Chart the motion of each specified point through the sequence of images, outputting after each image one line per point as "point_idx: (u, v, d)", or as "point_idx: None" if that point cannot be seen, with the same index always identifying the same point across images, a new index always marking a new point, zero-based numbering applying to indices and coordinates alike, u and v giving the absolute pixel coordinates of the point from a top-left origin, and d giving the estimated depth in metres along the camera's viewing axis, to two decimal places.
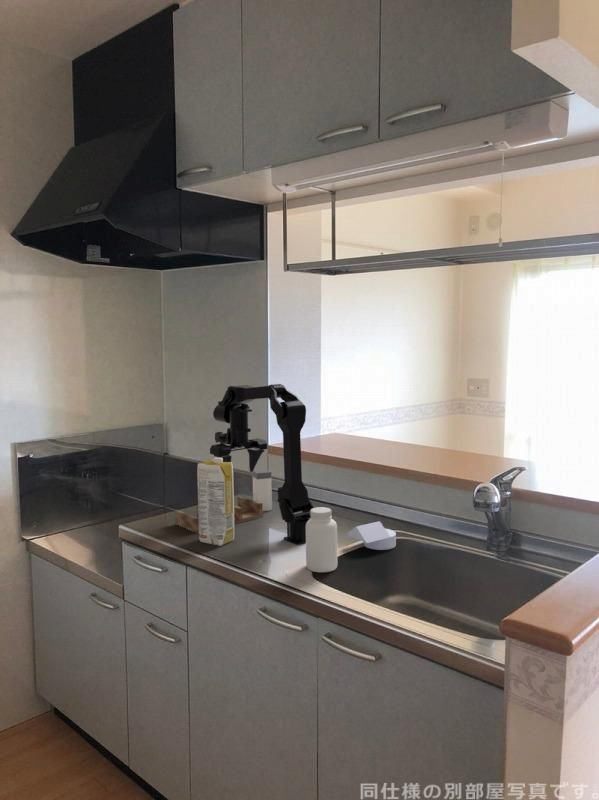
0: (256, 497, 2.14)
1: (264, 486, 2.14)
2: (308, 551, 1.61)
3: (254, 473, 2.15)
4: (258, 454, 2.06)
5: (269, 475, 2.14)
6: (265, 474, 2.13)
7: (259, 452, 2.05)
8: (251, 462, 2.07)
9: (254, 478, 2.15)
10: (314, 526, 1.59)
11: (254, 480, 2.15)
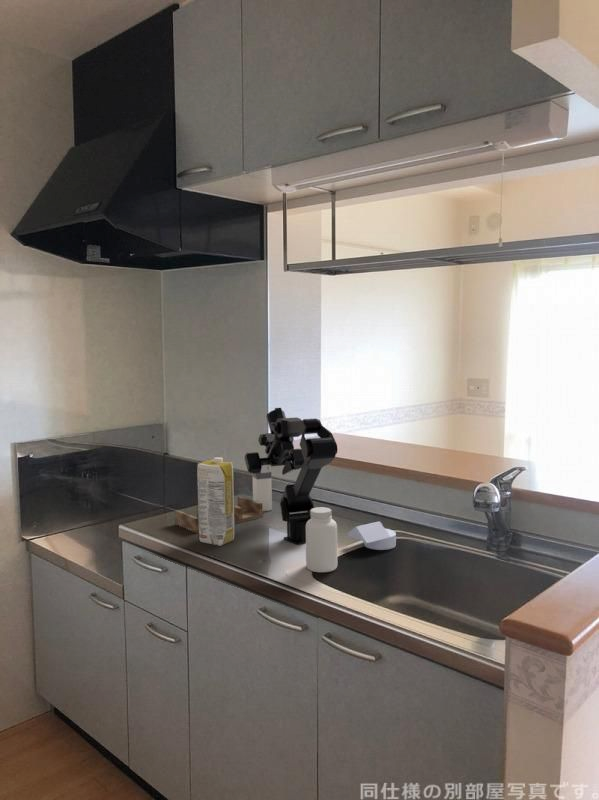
0: (256, 497, 2.14)
1: (264, 486, 2.14)
2: (308, 551, 1.61)
3: (254, 473, 2.15)
4: (291, 470, 2.04)
5: (269, 475, 2.14)
6: (265, 474, 2.13)
7: (293, 469, 2.04)
8: (285, 468, 2.07)
9: (254, 478, 2.15)
10: (314, 526, 1.59)
11: (254, 480, 2.15)
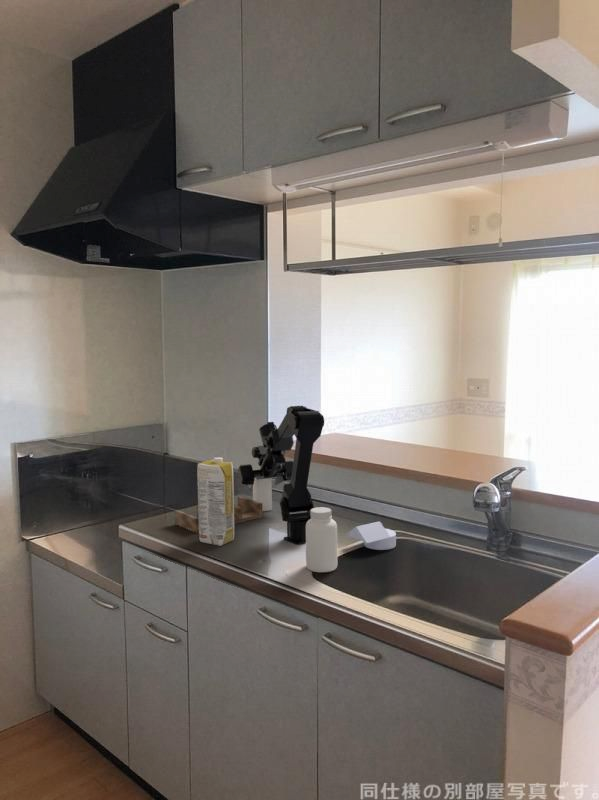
0: (256, 497, 2.14)
1: (264, 486, 2.14)
2: (308, 551, 1.61)
3: None
4: (283, 481, 2.12)
5: None
6: None
7: (285, 480, 2.11)
8: (277, 479, 2.15)
9: None
10: (314, 526, 1.59)
11: None
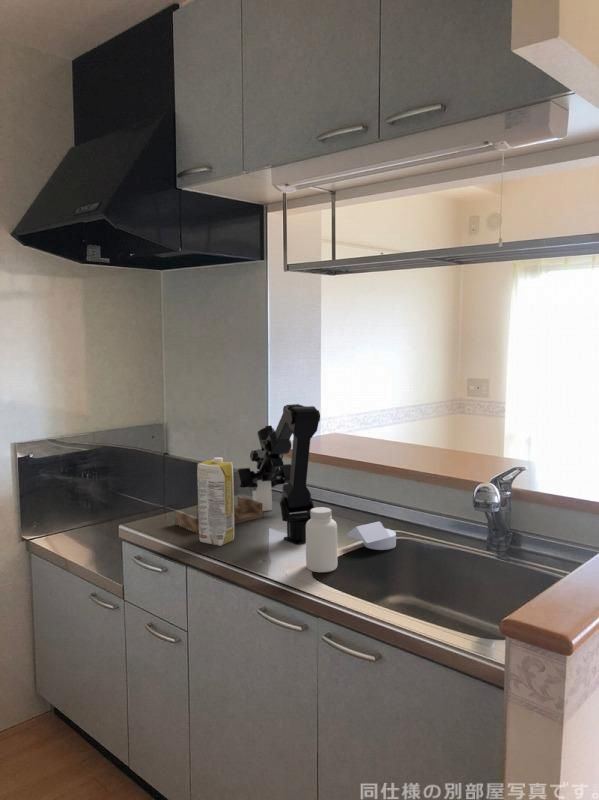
0: (256, 497, 2.14)
1: (264, 486, 2.14)
2: (308, 551, 1.61)
3: None
4: (276, 485, 2.13)
5: None
6: None
7: (278, 484, 2.12)
8: None
9: None
10: (314, 526, 1.59)
11: None
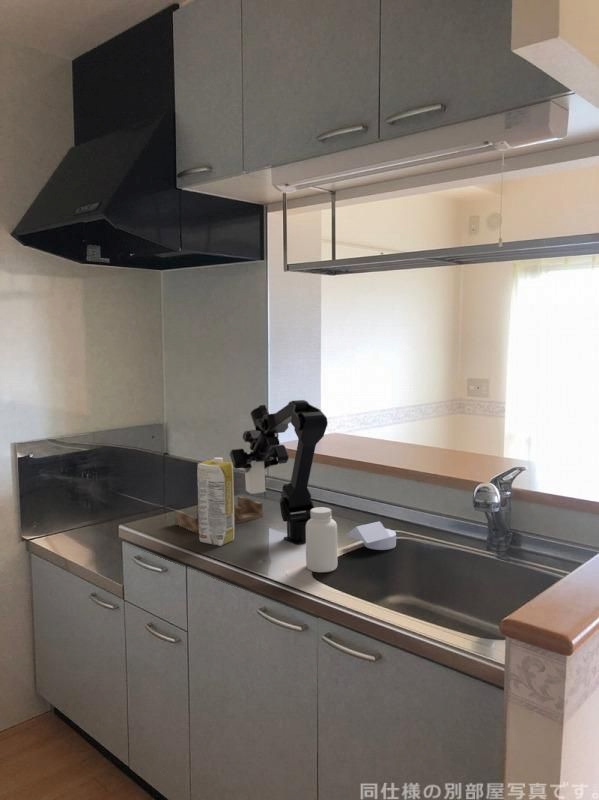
0: (249, 479, 2.11)
1: (257, 468, 2.11)
2: (308, 551, 1.61)
3: None
4: (270, 466, 2.10)
5: None
6: None
7: (271, 465, 2.10)
8: None
9: None
10: (314, 526, 1.59)
11: None
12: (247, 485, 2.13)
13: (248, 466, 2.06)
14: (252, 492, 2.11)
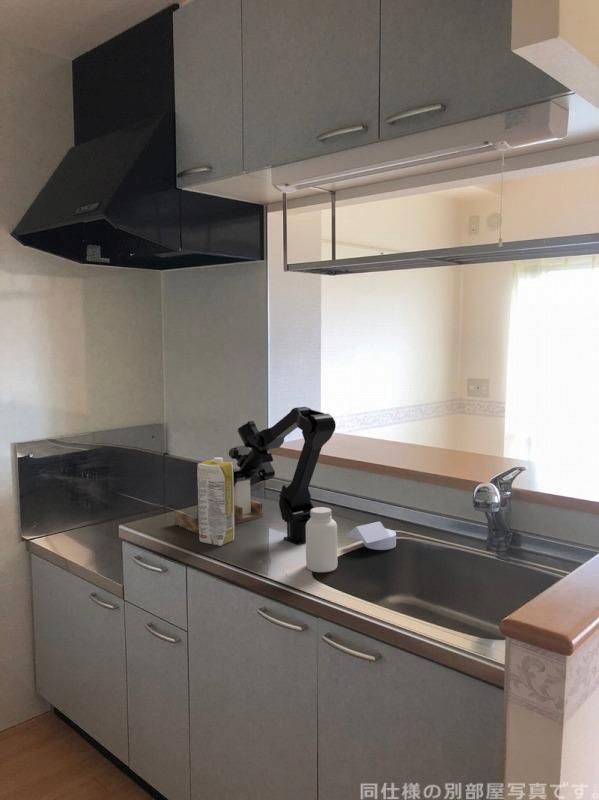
0: (235, 500, 2.06)
1: (244, 489, 2.06)
2: (308, 551, 1.61)
3: None
4: (261, 481, 2.08)
5: None
6: None
7: (263, 480, 2.08)
8: (252, 480, 2.10)
9: None
10: (314, 526, 1.59)
11: None
12: None
13: None
14: None
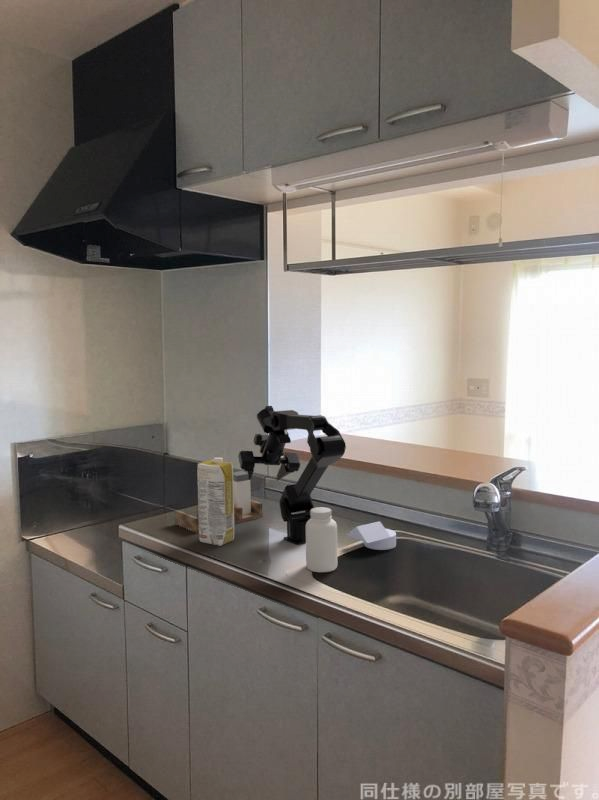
0: (235, 500, 2.06)
1: (244, 489, 2.07)
2: (308, 551, 1.61)
3: None
4: (285, 473, 2.00)
5: None
6: (244, 476, 2.06)
7: (287, 472, 2.00)
8: (279, 473, 2.04)
9: None
10: (314, 526, 1.59)
11: None
12: None
13: None
14: None
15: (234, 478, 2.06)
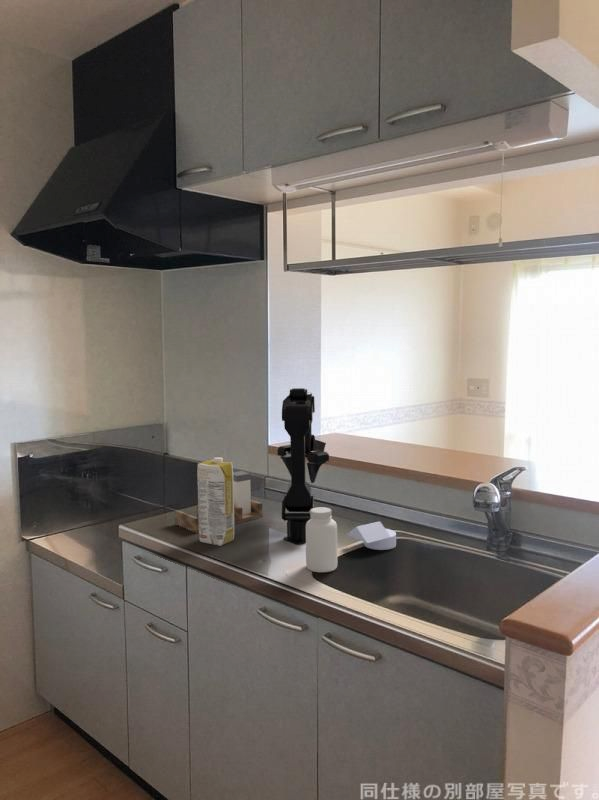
0: (235, 500, 2.06)
1: (244, 489, 2.07)
2: (308, 551, 1.61)
3: None
4: (308, 466, 2.00)
5: (248, 477, 2.07)
6: (244, 476, 2.06)
7: (308, 464, 1.99)
8: None
9: None
10: (314, 526, 1.59)
11: None
12: None
13: (283, 457, 2.08)
14: None
15: (234, 478, 2.06)
